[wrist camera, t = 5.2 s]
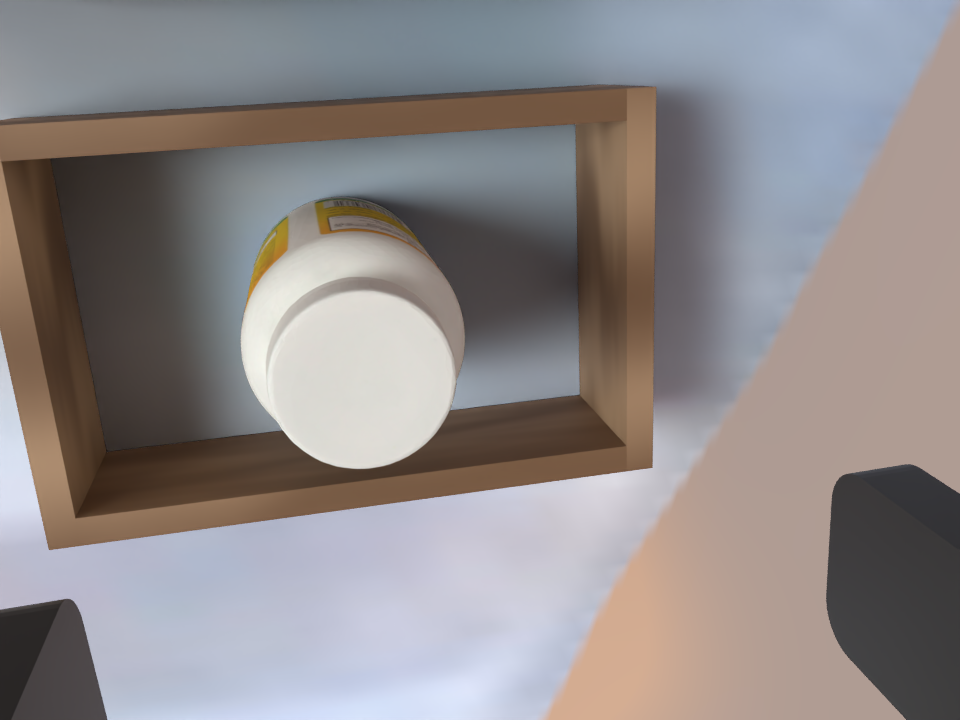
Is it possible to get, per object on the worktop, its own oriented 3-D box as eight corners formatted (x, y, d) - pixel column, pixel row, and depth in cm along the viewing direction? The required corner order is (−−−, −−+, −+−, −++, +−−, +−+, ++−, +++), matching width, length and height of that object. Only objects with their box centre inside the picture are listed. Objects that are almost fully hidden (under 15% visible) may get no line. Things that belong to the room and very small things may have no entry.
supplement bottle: (382, 165, 27) (431, 211, 18) (453, 321, 29) (529, 431, 20) (217, 241, 27) (184, 326, 18) (299, 394, 29) (307, 539, 20)
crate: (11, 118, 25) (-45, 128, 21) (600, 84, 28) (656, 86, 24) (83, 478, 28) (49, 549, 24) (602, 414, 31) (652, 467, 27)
